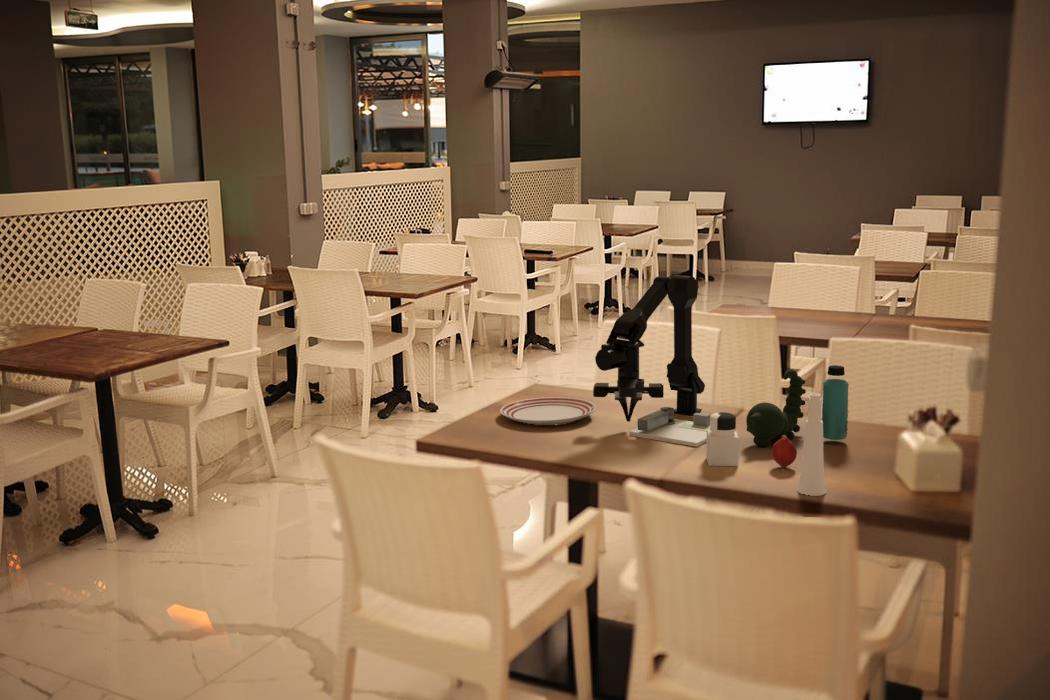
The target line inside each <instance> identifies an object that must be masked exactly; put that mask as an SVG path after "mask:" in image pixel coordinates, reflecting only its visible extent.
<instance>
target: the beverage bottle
mask: <svg viewBox="0 0 1050 700" xmlns="http://www.w3.org/2000/svg"><path fill="white" fill-rule="evenodd" d="M845 374H846V373H845V367H844V366H843V365H828V369H827V376H834V377H829V378H828V377H827V379H825V381H823V383H822V406H821V420H822V421H823V439H827V440H831V441H843V440H845V439H847V437H848V429H849V428H848V425H849V386H850V384H849V382H848V381H847V380H846V379H844V378H840V377H841V376H845Z"/></svg>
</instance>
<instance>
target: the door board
mask: <svg viewBox="0 0 1050 700" xmlns="http://www.w3.org/2000/svg"><path fill="white" fill-rule="evenodd" d="M710 416H711V414H707V413H700V412H698V413H695V414H693V415H692V417H693V418H692V419H693V421H690V420H684V419H678V418H674V421H671V422H668V423H666V424H664V425H661V426H659V427H657V428H655V429H652V430H650V431H648V432H647V431H641V430H638V427H636V428H634V429H632V430H630V431H629V436H632V435H633V436H634V437H638V436H639V437H640V438H645V439H649V438H650V439H651V440H656V441H662V442H666V443H673V444H677V445H678V444H679V445H685V446H689V447H690V446H691V447H696V448H697V447H700V446H702V445H704V444H707V430H710ZM639 437H638V438H639ZM650 439H649V440H650Z"/></svg>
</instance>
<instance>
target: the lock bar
mask: <svg viewBox="0 0 1050 700" xmlns="http://www.w3.org/2000/svg"><path fill="white" fill-rule="evenodd" d="M674 416H675V413H674V408H673V407H670V406H665V407H660V409H658V410H656V411H653V412H651V413H649V414H646V415H644V416H641V417H639V418H637V428H638V430H641V431H647V432H648V431H650V430H652V429H655V428H657V427H659V426H661V425H664V424H666V423H668V422H671V421H674V419H675V418H674Z"/></svg>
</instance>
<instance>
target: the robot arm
mask: <svg viewBox="0 0 1050 700" xmlns="http://www.w3.org/2000/svg"><path fill="white" fill-rule="evenodd" d="M652 282H653V283H652V284H651V285H650V286H649V288H648V289H647V290H646V292H645V293H644V294H643V296H641V298H640V299H639V301H638V302H636V304H635V306H634V307H633V308H631V309H630V310H628V311H626V312H624V313H621V315H620V316H619V317H618V318H617V319H615V322H614V324H613V327H612V329H611V331H610V333H609V336H608V338H607V340H606V343H604V344H601V346H600V349H599V350H598V351H597V353H596V354H595V358H594V359H595V365H596V366H597V368H598V369H599V370H601V371H603V372H604V371H605V372H606V371H610V370H614V369H615V370H616V369H617V379H616V380H617V381H616V382H617V383H616V386H614V385H613V386H611V385H609V384H610V383H609V382H596V383H594V385H593V390H592V392H593V393H592V395H593V396H592V397H593V398H606V397H607V396H608V394H614V400H615V401H618V403H619V404H620V406H621V408H622V410H623V413H624V417H625V419H626V422H631V418H632V415H633V413H634V410H635V407H636V405H637V403H638V402H639V401H642V400H643V394H644V395H645V394H647V395H648V396H649V397H650V398H652V399H659V398H660V399H662V398H664V393H665V392H664V385H663V384H662V383H660V382H657V383H656V382H655V383H652V382H651V383H649V382H648V386H645V379H644V378H640V348H642V347H645V343H644V342H643V341H641V339H642V338H643V335H644V334H645V332H646V330H647V328H648V320H649V319H650V317H652V315H653V314H654V312H655V311H656V310H657V308H658V307H659V306H660V305H661V303H662V302H663V300H664V299H666V297H667V298H668V300H669V302H670V304H671V305H672V307H673V359H672V360H671V362H670V363H669V362H668V363H667V364H666V370H667V371H666V378H667V381H668V384H669V385H668V386H669V389H670V391H675V392H676V408H675V409H674V412H675V413H674V414H681V415H688V416H693V414H695V413H700V412H701V411H703V410H702V408H698V394H699V395H700V394H702V393H703V392H704V391H705V388H706V387H705V386H706V384H705V383H704V381H703V379H702V378H701V377H700V375H699V369H698V368H699V367H698V365H697V363H696V361H695V360H694V358H693V355H692V353H693V352H692V350H693V346H692V345H693V337H692V335H693V332H692V331H693V330H692V328H693V325H692V323H693V322H692V321H693V320H692V316H693V315H692V314H693V313H692V311H693V310H692V307H693V305H694V303H695V302H696V301H697V299H698V294H699V293H698V292H699V282H698V279H696V278H695V277H694V276H688V275H677V274H674V275H671V276H663V275H662V276H661V275H658V276H655V277H654V279H653V281H652ZM628 398H630V402H629V406H628V400H627V399H628ZM628 408H629V409H628Z"/></svg>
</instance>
